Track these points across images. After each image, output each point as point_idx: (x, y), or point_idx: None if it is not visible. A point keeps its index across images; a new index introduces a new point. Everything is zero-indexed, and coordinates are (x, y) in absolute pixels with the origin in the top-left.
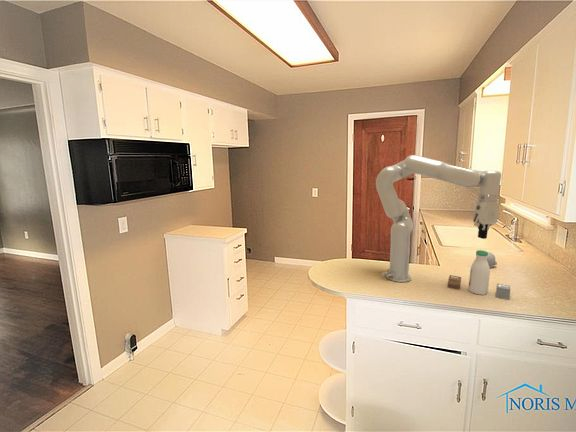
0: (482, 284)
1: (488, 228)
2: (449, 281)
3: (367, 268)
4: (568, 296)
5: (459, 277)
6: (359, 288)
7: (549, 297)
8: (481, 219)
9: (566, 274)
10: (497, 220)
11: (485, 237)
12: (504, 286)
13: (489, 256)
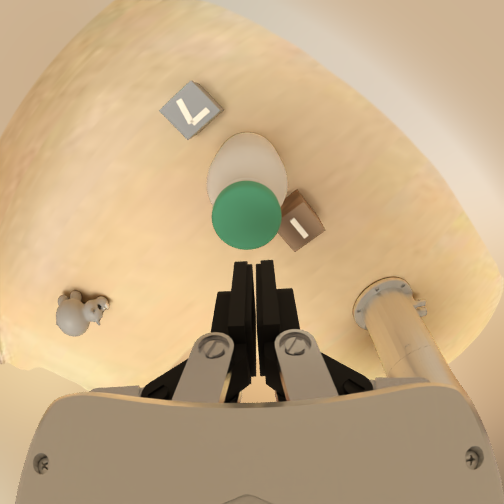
0: (262, 139)
1: (198, 351)
2: (320, 222)
3: None
4: (31, 93)
5: (281, 224)
6: (480, 271)
7: (72, 87)
8: (490, 445)
9: None
10: (42, 420)
11: (250, 267)
12: (187, 108)
13: (70, 316)
